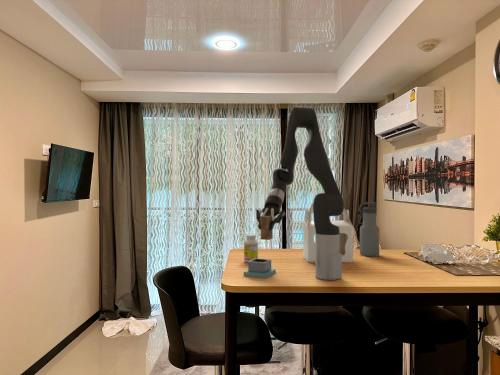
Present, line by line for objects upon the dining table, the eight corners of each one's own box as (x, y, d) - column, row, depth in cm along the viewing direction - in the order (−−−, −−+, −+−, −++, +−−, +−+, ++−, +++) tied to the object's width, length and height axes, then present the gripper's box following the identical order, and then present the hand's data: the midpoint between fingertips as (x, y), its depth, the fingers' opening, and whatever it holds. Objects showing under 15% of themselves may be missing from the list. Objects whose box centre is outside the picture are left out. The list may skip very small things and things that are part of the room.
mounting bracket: (451, 267, 158) (446, 244, 163) (457, 264, 153) (452, 241, 157) (425, 266, 160) (421, 244, 164) (430, 263, 154) (426, 240, 158)
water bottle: (355, 254, 178) (355, 202, 178) (364, 252, 185) (364, 201, 185) (373, 257, 171) (373, 202, 171) (382, 255, 177) (382, 202, 178)
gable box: (307, 262, 159) (307, 203, 159) (302, 257, 172) (302, 202, 172) (353, 262, 159) (353, 203, 160) (345, 256, 172) (345, 202, 173)
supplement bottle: (242, 260, 163) (242, 234, 163) (255, 259, 165) (255, 233, 165) (246, 263, 157) (246, 235, 157) (259, 262, 159) (259, 235, 159)
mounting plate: (275, 272, 139) (275, 268, 139) (266, 278, 130) (266, 274, 130) (253, 270, 143) (253, 266, 143) (243, 275, 134) (243, 271, 134)
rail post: (272, 238, 146) (272, 215, 146) (269, 239, 142) (268, 216, 142) (264, 238, 148) (264, 215, 148) (260, 239, 144) (260, 216, 144)
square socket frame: (271, 269, 138) (271, 259, 138) (264, 273, 132) (264, 263, 132) (255, 267, 141) (255, 258, 141) (248, 271, 135) (248, 261, 135)
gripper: (258, 194, 155) (247, 222, 144) (287, 194, 149) (278, 223, 138) (263, 205, 160) (252, 233, 149) (291, 206, 154) (282, 235, 142)
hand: (264, 228), depth 143 cm, fingers closed on rail post, 4 cm apart
